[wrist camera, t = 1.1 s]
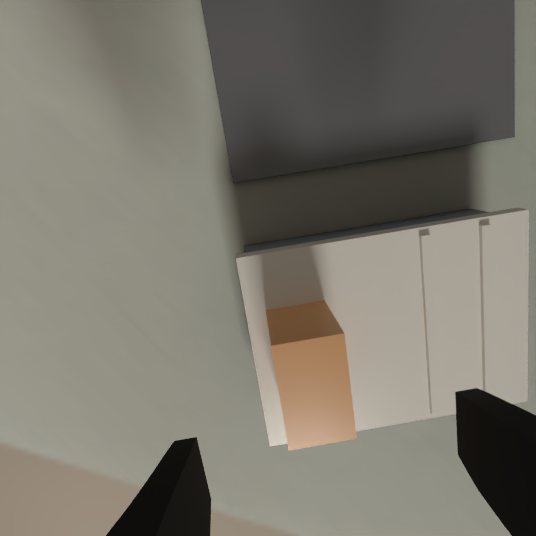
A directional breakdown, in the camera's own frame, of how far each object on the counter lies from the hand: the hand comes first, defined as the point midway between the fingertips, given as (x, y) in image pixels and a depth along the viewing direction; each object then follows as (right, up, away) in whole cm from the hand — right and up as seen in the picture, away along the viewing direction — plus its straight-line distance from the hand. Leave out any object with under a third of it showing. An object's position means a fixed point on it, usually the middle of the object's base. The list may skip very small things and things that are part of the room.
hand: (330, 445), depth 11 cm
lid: (+3, +3, +7) cm, 8 cm away
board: (+2, +14, +6) cm, 16 cm away
